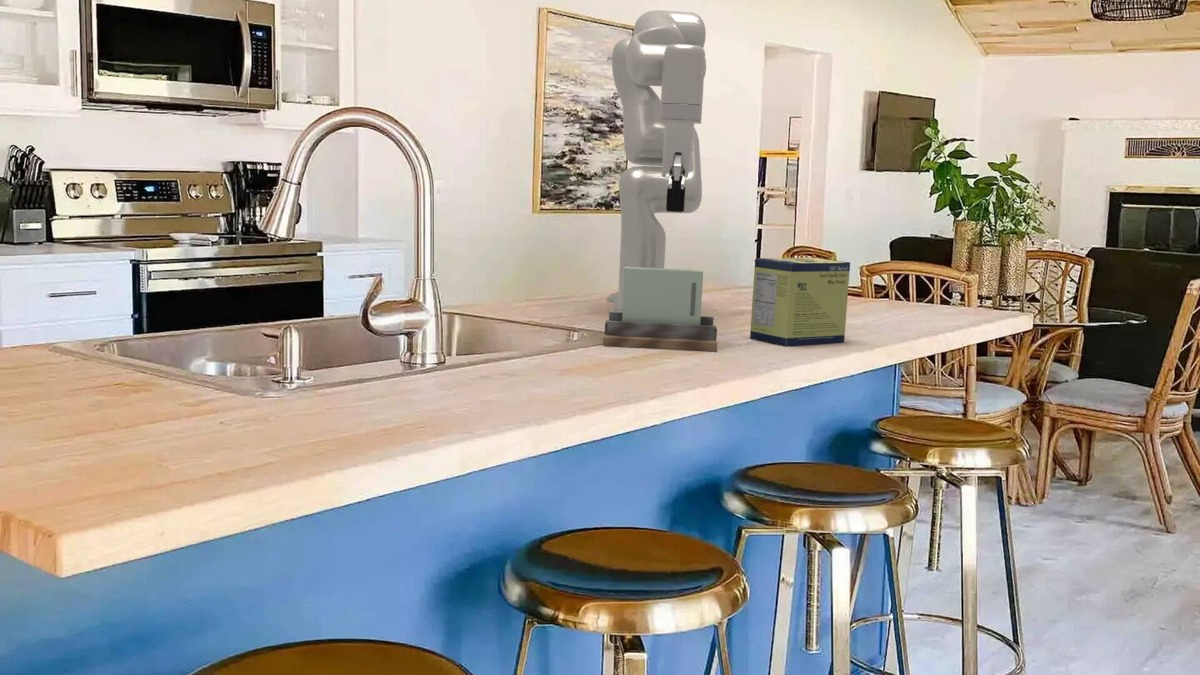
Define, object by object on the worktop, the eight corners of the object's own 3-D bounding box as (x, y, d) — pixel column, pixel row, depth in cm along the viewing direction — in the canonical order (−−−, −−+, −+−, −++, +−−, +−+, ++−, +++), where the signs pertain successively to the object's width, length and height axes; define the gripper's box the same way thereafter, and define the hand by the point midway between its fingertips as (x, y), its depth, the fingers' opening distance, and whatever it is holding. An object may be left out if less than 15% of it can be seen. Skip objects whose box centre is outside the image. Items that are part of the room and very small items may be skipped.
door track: (603, 345, 207) (604, 317, 207) (606, 336, 219) (607, 309, 219) (716, 351, 207) (718, 323, 206) (713, 341, 218) (715, 314, 218)
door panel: (621, 334, 212) (624, 268, 210) (621, 332, 215) (625, 266, 213) (699, 338, 211) (703, 271, 209) (698, 336, 214) (702, 270, 212)
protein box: (845, 342, 225) (851, 261, 223) (786, 347, 216) (791, 262, 214) (807, 335, 234) (812, 256, 231) (748, 338, 225) (753, 257, 222)
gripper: (661, 114, 222) (655, 205, 225) (658, 113, 205) (653, 212, 208) (701, 116, 221) (695, 207, 224) (702, 115, 204) (696, 214, 207)
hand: (675, 209), depth 216 cm, fingers open, 9 cm apart
